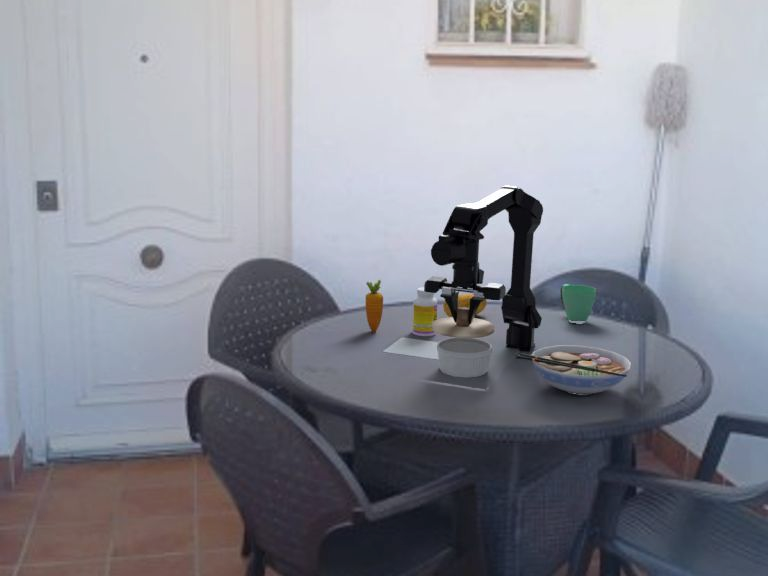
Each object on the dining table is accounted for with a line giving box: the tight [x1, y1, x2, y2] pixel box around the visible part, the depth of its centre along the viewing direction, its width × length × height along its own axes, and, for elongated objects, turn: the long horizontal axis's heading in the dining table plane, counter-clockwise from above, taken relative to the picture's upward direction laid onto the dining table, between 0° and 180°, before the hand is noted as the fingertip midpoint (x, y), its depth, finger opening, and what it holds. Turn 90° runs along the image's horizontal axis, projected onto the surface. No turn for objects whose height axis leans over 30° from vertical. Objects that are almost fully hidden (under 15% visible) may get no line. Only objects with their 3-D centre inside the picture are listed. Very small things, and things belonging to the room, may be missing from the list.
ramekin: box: [437, 337, 493, 379], centre depth 224 cm, size 13×13×7 cm
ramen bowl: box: [515, 344, 632, 395], centre depth 213 cm, size 25×23×8 cm
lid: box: [432, 307, 495, 339], centre depth 222 cm, size 15×15×5 cm
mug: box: [560, 283, 598, 322], centre depth 272 cm, size 15×10×10 cm
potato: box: [443, 293, 488, 317], centre depth 272 cm, size 7×14×7 cm, turn 118°
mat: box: [382, 336, 439, 361], centre depth 240 cm, size 18×14×1 cm
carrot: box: [365, 279, 384, 333], centre depth 253 cm, size 5×5×15 cm
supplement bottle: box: [411, 286, 438, 337], centre depth 253 cm, size 7×7×13 cm
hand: (463, 323), depth 222 cm, fingers closed on lid, 3 cm apart
